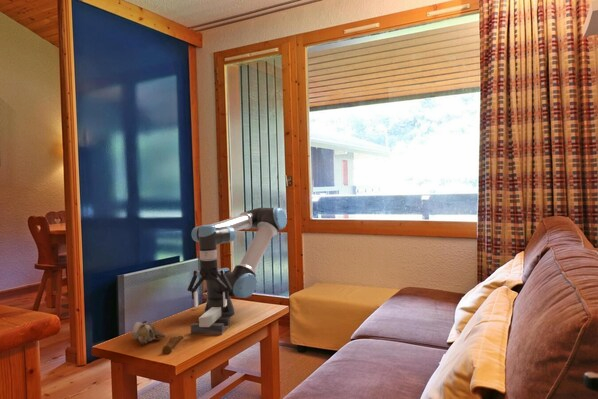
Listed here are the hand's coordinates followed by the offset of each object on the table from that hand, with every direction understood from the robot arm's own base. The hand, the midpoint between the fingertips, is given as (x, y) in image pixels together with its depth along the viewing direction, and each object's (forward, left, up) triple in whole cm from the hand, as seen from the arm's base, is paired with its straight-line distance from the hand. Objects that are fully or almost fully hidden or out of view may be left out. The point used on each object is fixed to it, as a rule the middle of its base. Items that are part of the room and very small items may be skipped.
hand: (210, 306), depth 184 cm
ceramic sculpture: (+15, -23, -11) cm, 30 cm away
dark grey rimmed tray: (0, 0, -11) cm, 11 cm away
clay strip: (0, 0, -7) cm, 7 cm away
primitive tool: (+19, -10, -11) cm, 24 cm away
